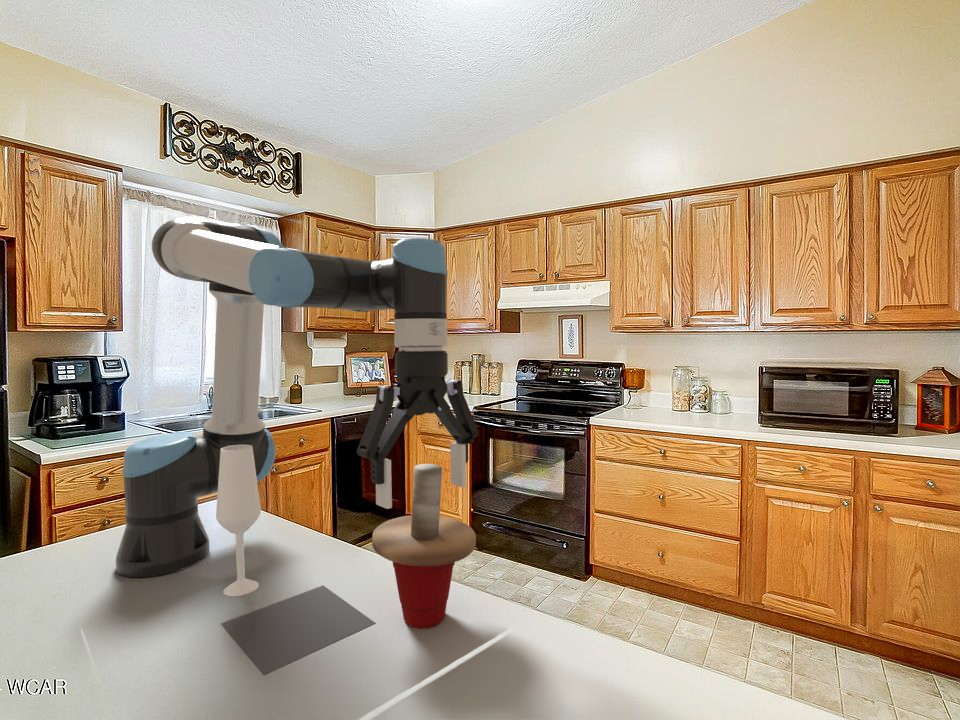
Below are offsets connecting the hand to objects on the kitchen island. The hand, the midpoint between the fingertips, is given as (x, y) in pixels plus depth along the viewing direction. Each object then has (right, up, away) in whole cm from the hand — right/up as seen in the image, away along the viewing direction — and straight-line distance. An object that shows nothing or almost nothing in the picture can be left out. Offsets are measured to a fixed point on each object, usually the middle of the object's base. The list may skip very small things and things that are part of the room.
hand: (423, 495), depth 74 cm
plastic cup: (0, -19, +1) cm, 19 cm away
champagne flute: (-31, -19, +11) cm, 38 cm away
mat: (-18, -19, 0) cm, 26 cm away
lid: (0, -7, 0) cm, 7 cm away
